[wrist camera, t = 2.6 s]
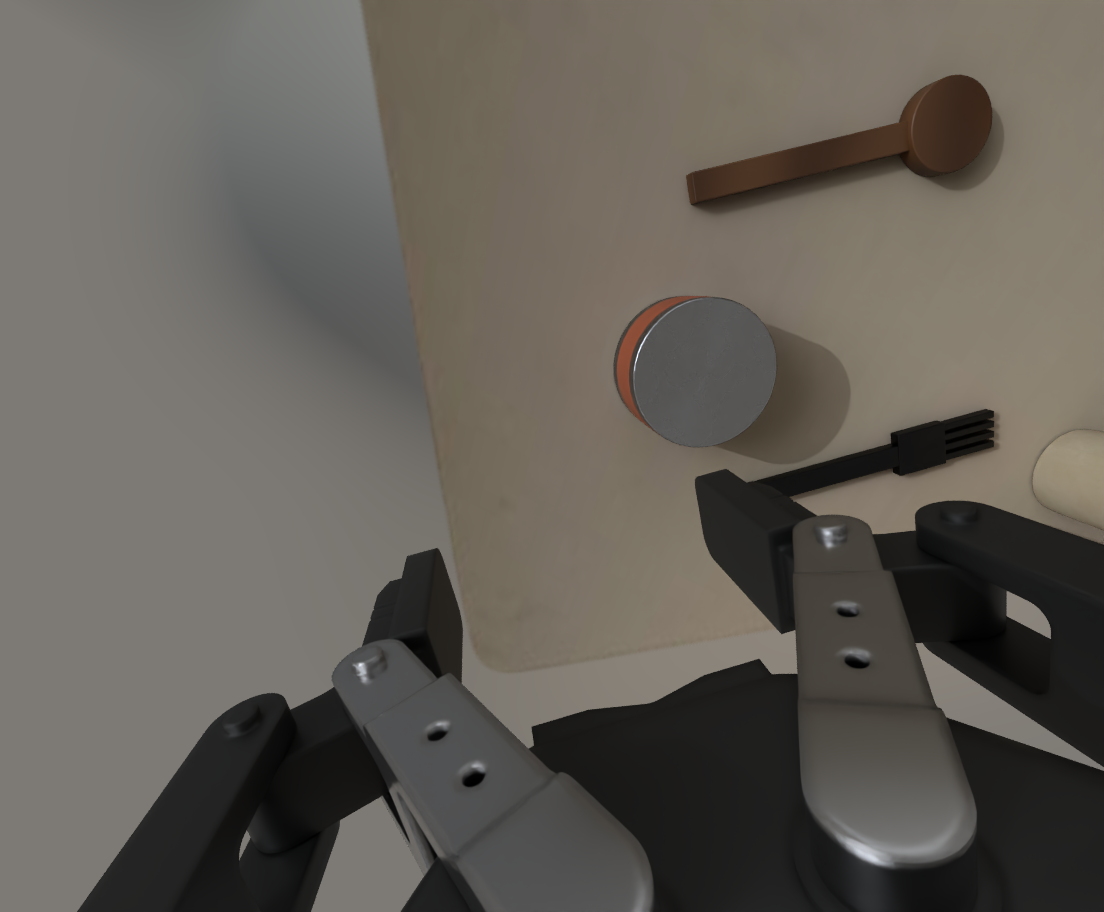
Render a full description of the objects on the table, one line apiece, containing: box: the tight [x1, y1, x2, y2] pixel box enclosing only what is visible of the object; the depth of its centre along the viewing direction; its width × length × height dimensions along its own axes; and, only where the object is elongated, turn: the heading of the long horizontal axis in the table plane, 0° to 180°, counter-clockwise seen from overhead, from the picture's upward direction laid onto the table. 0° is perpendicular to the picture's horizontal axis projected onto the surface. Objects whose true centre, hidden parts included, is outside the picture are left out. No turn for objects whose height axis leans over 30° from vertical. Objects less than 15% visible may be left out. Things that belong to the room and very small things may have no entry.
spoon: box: [686, 75, 992, 205], centre depth 29 cm, size 16×4×1 cm, turn 103°
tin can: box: [614, 296, 777, 447], centre depth 30 cm, size 7×7×4 cm
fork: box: [753, 409, 994, 497], centre depth 34 cm, size 16×3×1 cm, turn 103°
